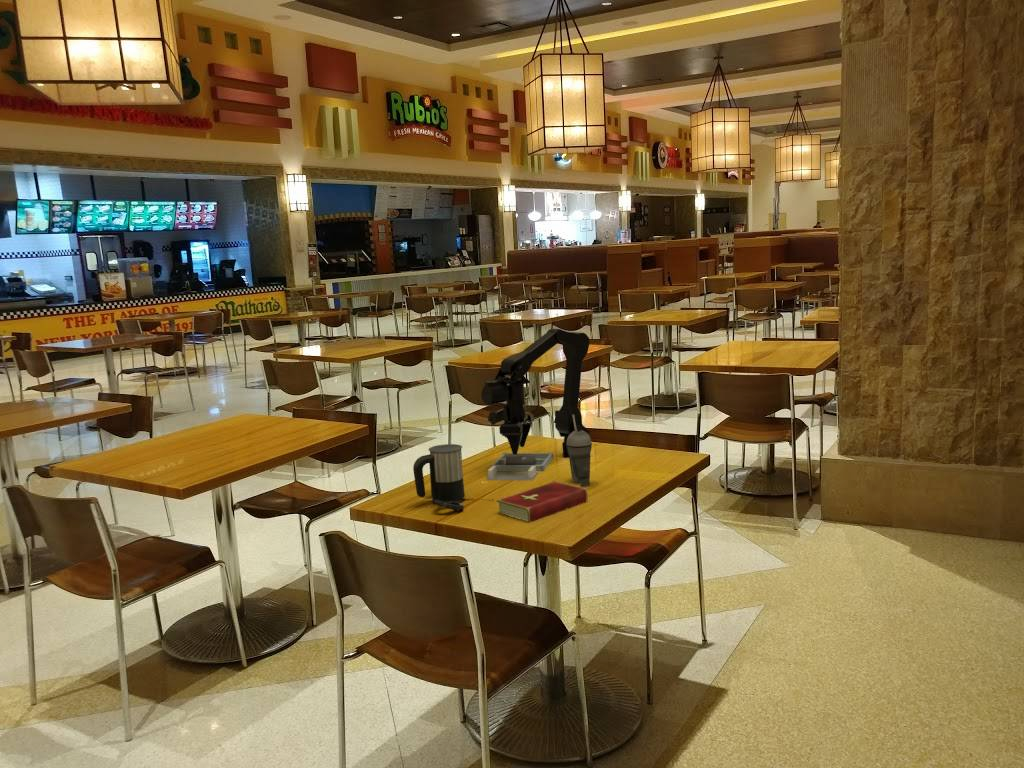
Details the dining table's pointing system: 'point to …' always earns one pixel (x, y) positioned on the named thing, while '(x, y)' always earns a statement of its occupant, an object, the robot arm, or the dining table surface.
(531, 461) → the battery cell
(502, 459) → the cell tray
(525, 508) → the hardcover book
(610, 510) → the dining table surface
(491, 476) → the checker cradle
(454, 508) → the milk frother
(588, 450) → the beverage cup
